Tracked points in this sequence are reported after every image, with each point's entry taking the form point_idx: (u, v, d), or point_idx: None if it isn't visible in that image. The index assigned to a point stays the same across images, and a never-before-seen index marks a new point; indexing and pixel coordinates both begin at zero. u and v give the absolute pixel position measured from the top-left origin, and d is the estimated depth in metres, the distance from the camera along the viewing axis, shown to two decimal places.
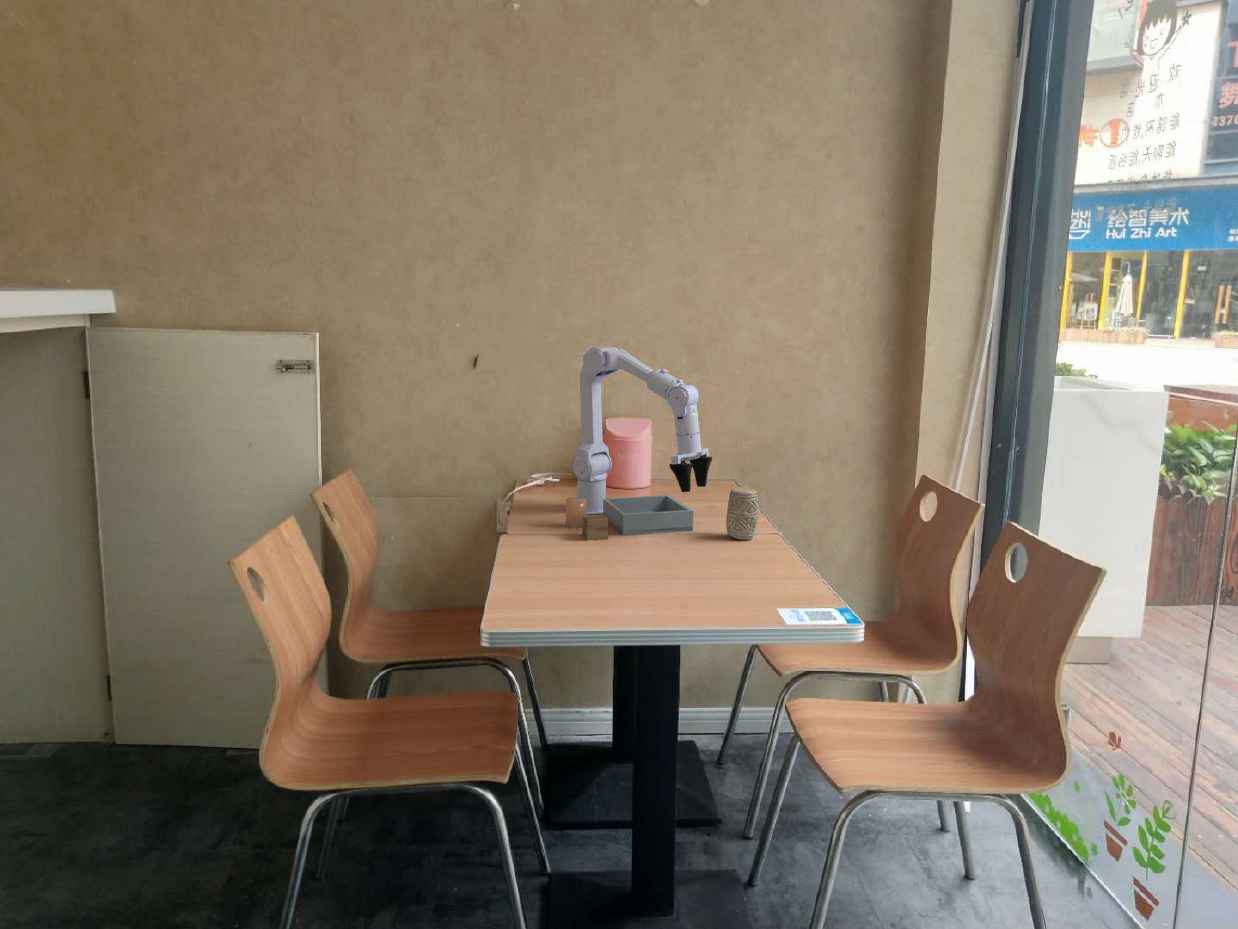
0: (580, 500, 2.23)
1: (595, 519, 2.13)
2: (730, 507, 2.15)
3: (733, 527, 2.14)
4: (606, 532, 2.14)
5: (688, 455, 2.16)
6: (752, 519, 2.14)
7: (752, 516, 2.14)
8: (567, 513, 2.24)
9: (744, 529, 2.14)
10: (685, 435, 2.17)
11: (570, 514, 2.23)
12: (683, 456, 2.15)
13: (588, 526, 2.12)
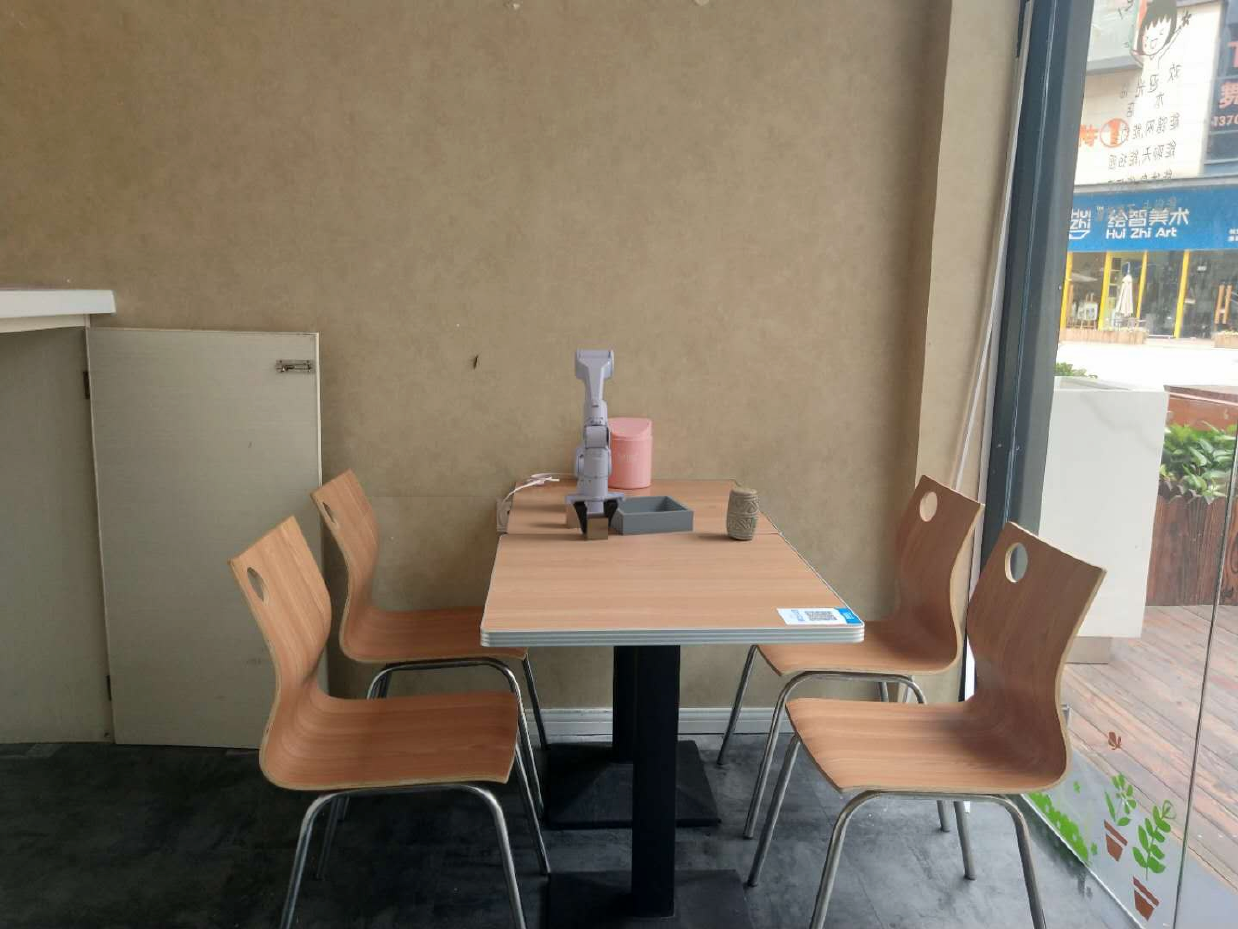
0: None
1: (595, 519, 2.13)
2: (730, 507, 2.15)
3: (733, 527, 2.14)
4: (606, 532, 2.14)
5: (581, 498, 2.11)
6: (752, 519, 2.14)
7: (752, 516, 2.14)
8: (567, 513, 2.24)
9: (744, 529, 2.14)
10: (585, 477, 2.11)
11: (570, 514, 2.23)
12: (575, 498, 2.11)
13: (588, 526, 2.12)
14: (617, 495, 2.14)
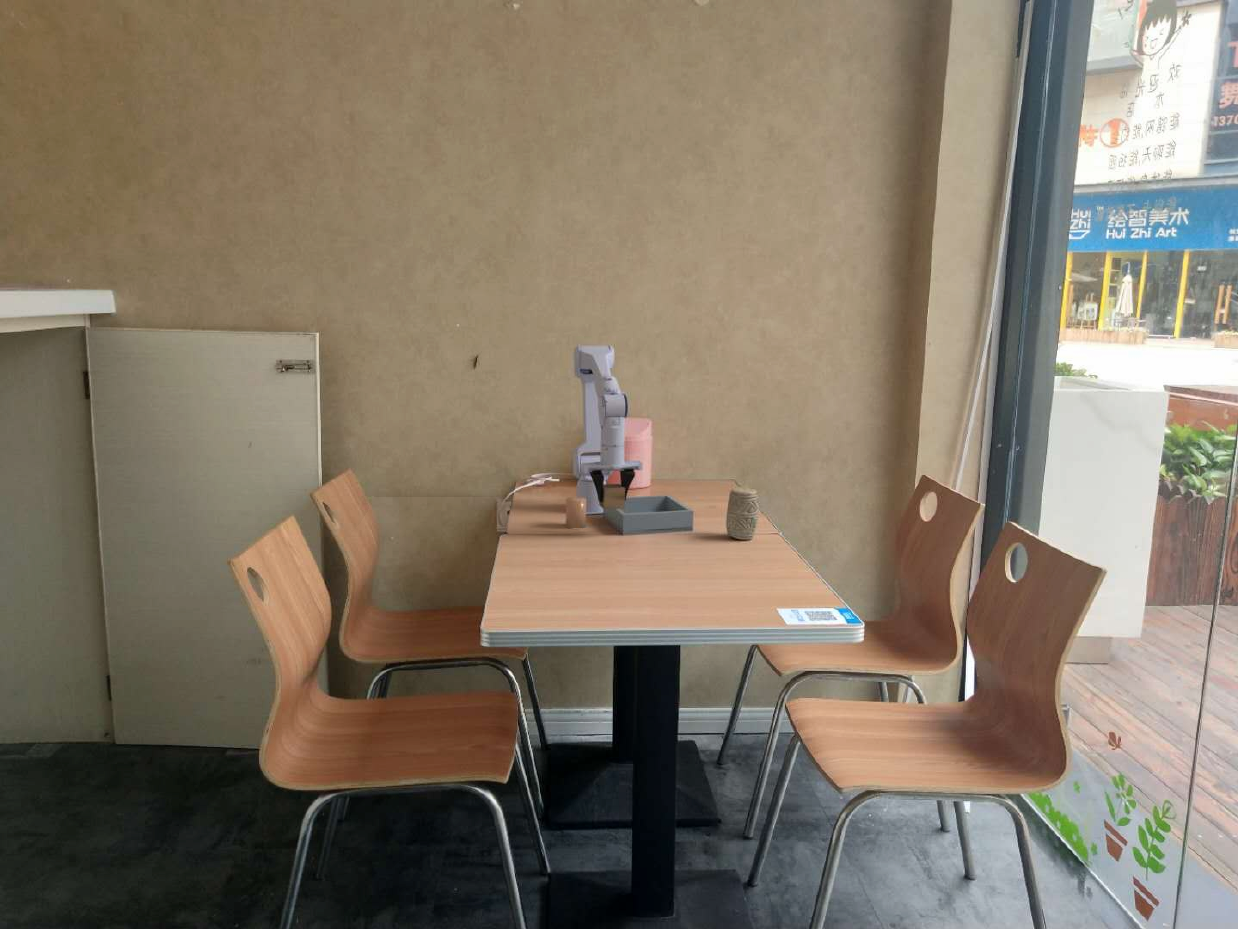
0: (580, 500, 2.23)
1: (612, 488, 2.14)
2: (730, 507, 2.15)
3: (733, 527, 2.14)
4: (623, 501, 2.15)
5: (598, 466, 2.12)
6: (752, 519, 2.14)
7: (752, 516, 2.14)
8: (567, 513, 2.24)
9: (744, 529, 2.14)
10: (602, 446, 2.12)
11: (570, 514, 2.23)
12: (592, 466, 2.12)
13: (605, 494, 2.13)
14: (634, 464, 2.15)
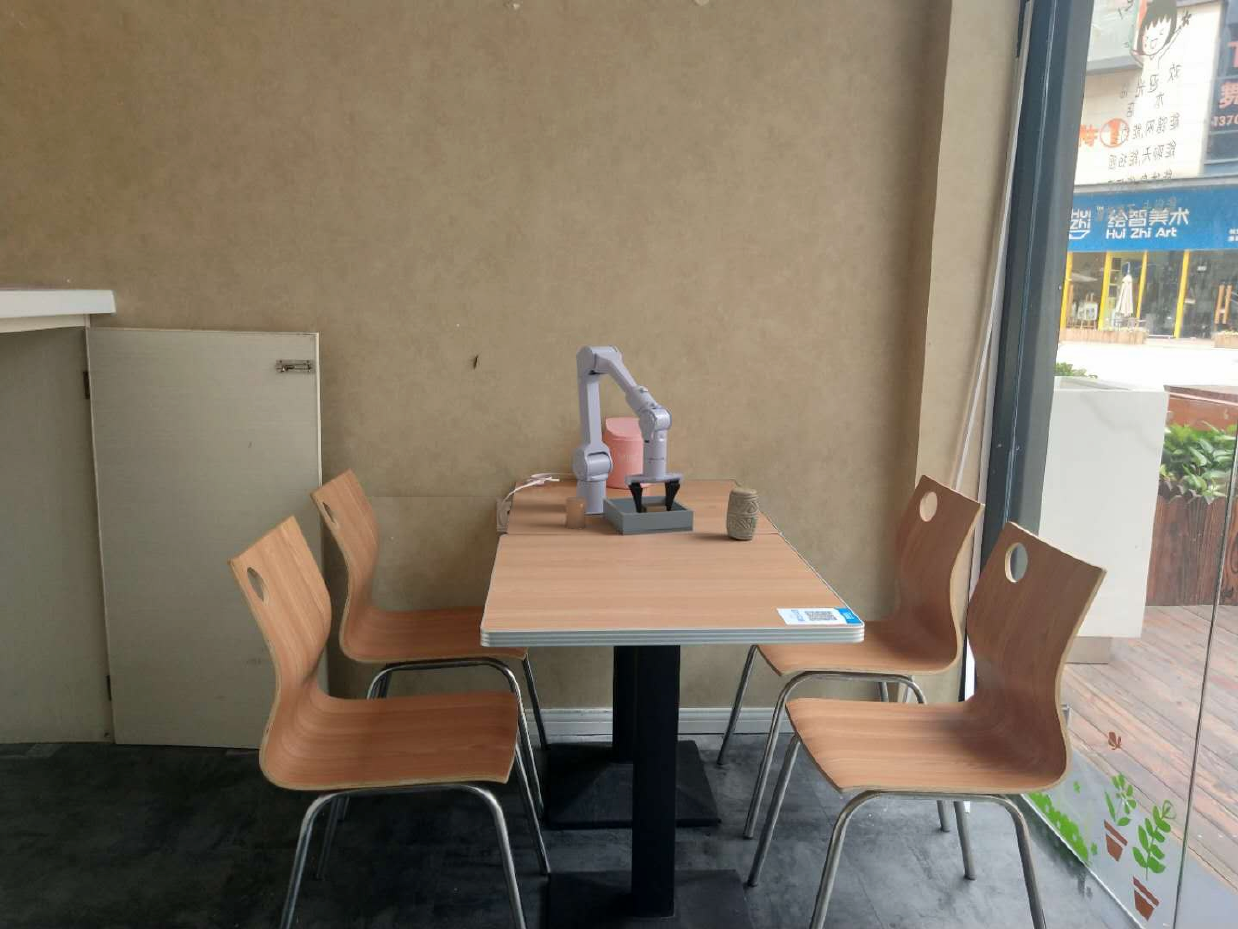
0: (580, 500, 2.23)
1: (654, 507, 2.21)
2: (730, 507, 2.15)
3: (733, 527, 2.14)
4: None
5: (641, 478, 2.19)
6: (752, 519, 2.14)
7: (752, 516, 2.14)
8: (567, 513, 2.24)
9: (744, 529, 2.14)
10: (645, 458, 2.19)
11: (570, 514, 2.23)
12: (635, 478, 2.19)
13: None
14: (675, 476, 2.22)
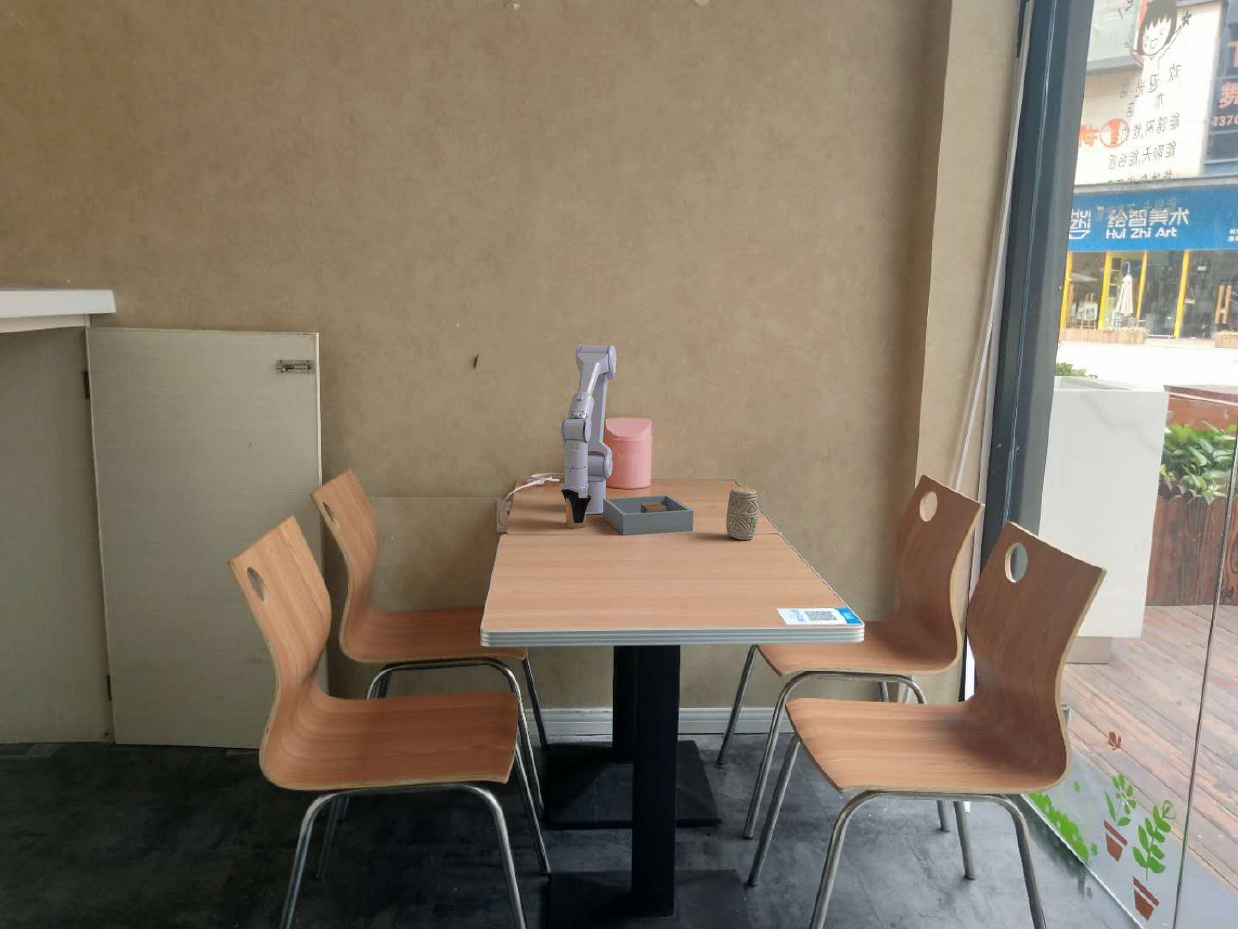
0: None
1: (654, 507, 2.21)
2: (730, 507, 2.15)
3: (733, 527, 2.14)
4: None
5: None
6: (752, 519, 2.14)
7: (752, 516, 2.14)
8: (567, 513, 2.24)
9: (744, 529, 2.14)
10: None
11: (570, 514, 2.23)
12: None
13: None
14: (575, 489, 2.19)
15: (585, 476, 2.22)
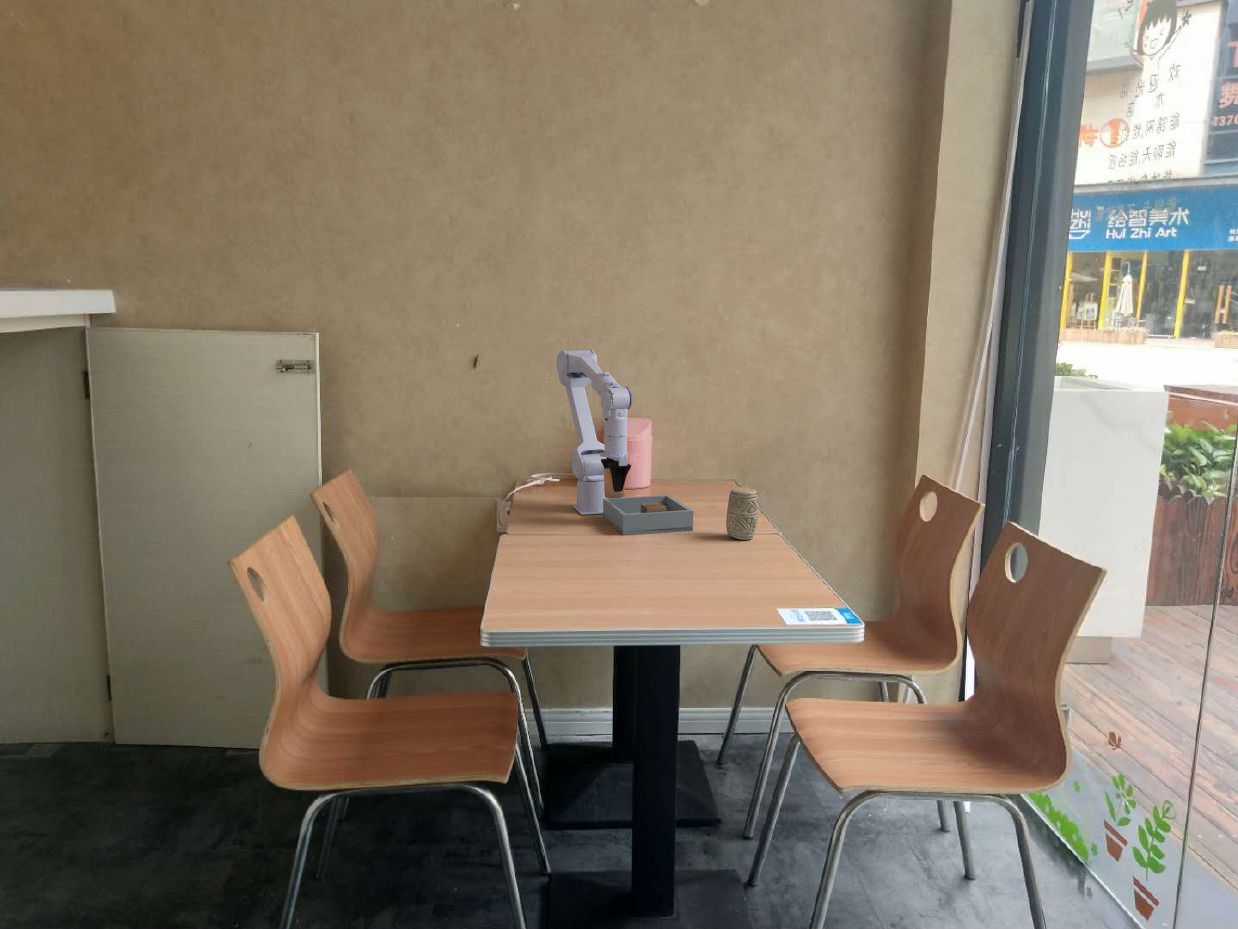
0: None
1: (654, 507, 2.21)
2: (730, 507, 2.15)
3: (733, 527, 2.14)
4: None
5: None
6: (752, 519, 2.14)
7: (752, 516, 2.14)
8: (605, 483, 2.26)
9: (744, 529, 2.14)
10: None
11: (608, 484, 2.25)
12: None
13: None
14: (615, 458, 2.21)
15: (625, 445, 2.24)
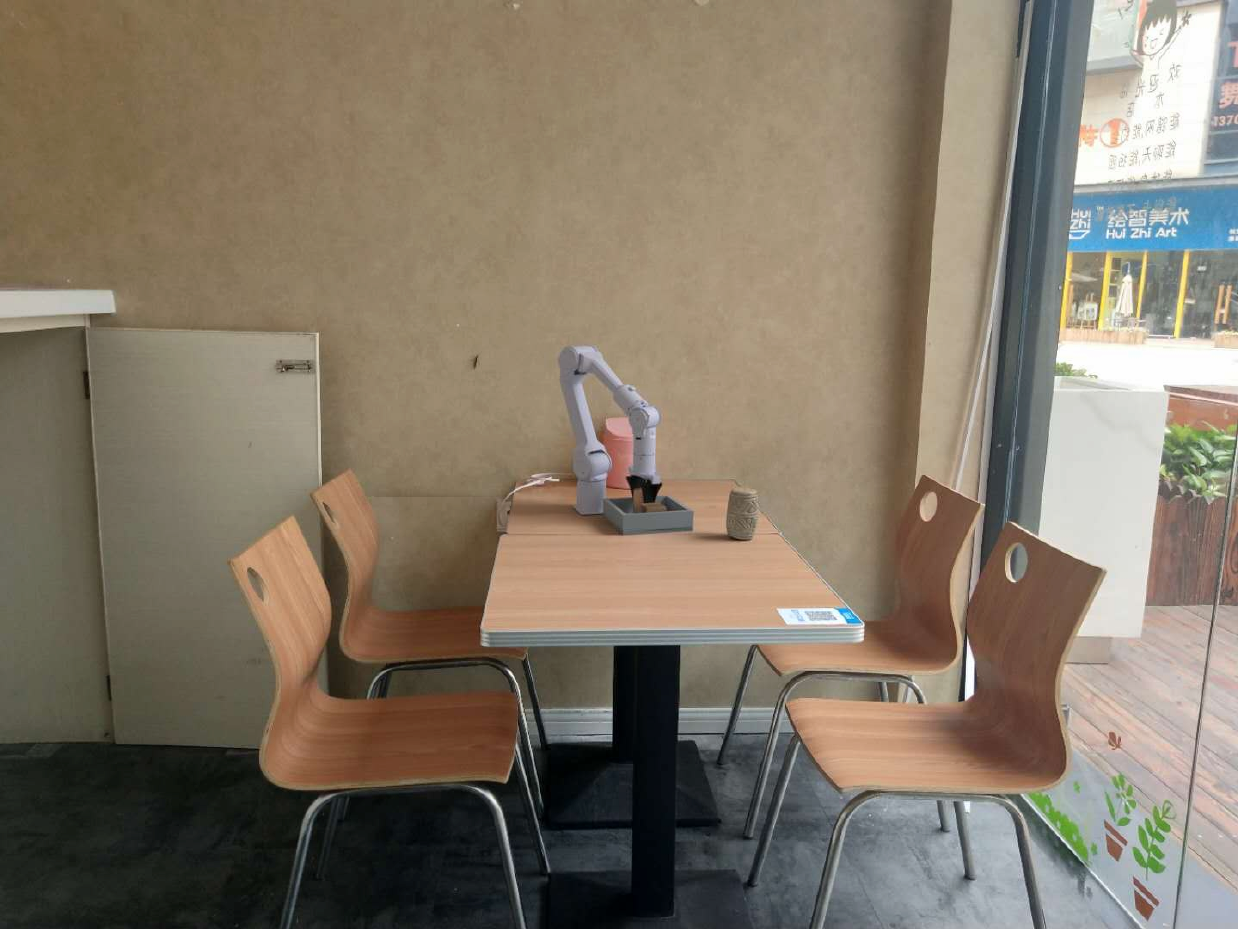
0: None
1: (654, 507, 2.21)
2: (730, 507, 2.15)
3: (733, 527, 2.14)
4: None
5: None
6: (752, 519, 2.14)
7: (752, 516, 2.14)
8: (636, 504, 2.29)
9: (744, 529, 2.14)
10: None
11: (639, 505, 2.28)
12: (630, 468, 2.34)
13: None
14: (647, 476, 2.24)
15: (654, 463, 2.28)
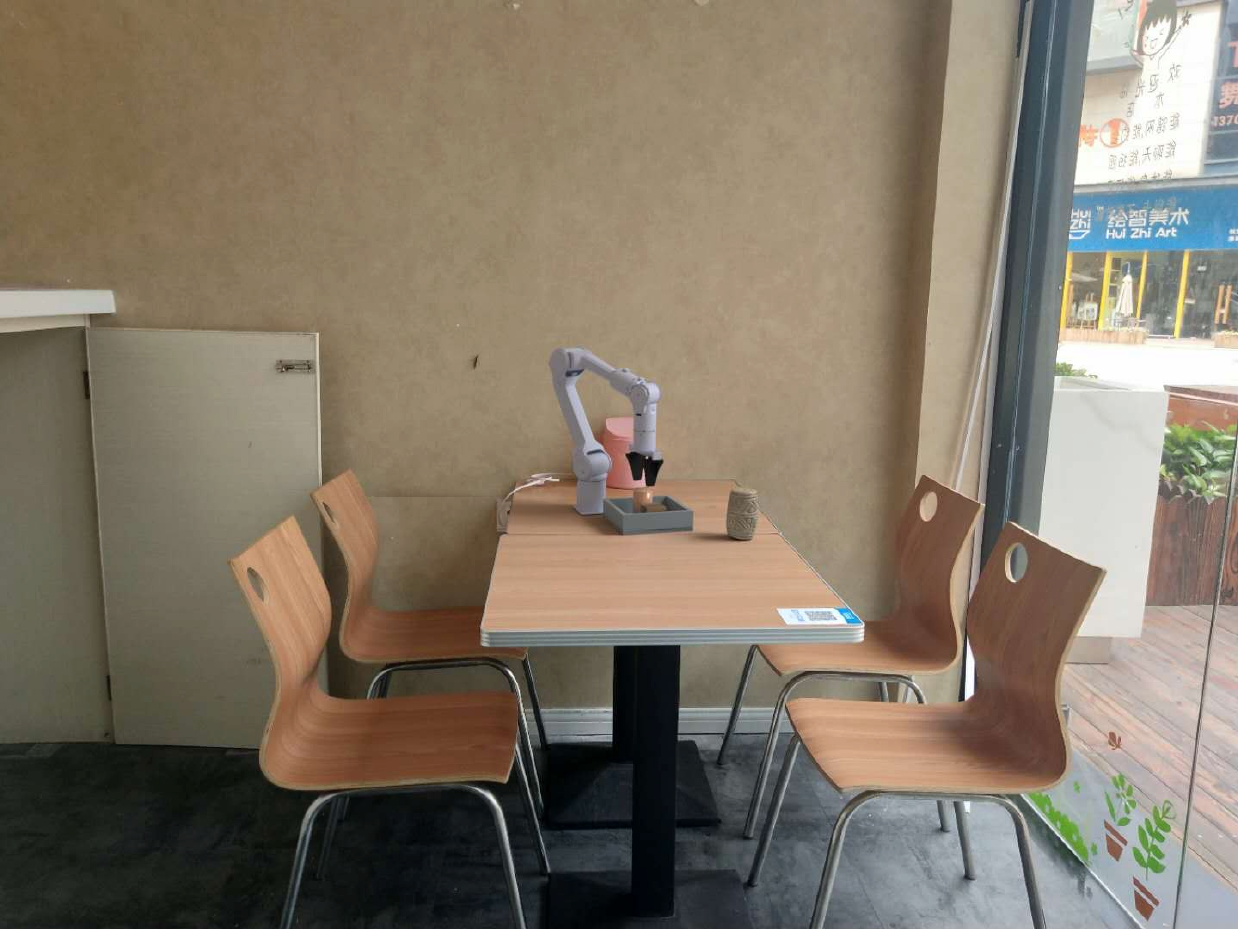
0: (648, 491, 2.29)
1: (654, 507, 2.21)
2: (730, 507, 2.15)
3: (733, 527, 2.14)
4: None
5: (631, 447, 2.31)
6: (752, 519, 2.14)
7: (752, 516, 2.14)
8: (635, 504, 2.29)
9: (744, 529, 2.14)
10: None
11: (638, 505, 2.29)
12: (630, 446, 2.32)
13: None
14: (648, 452, 2.23)
15: (654, 439, 2.27)
